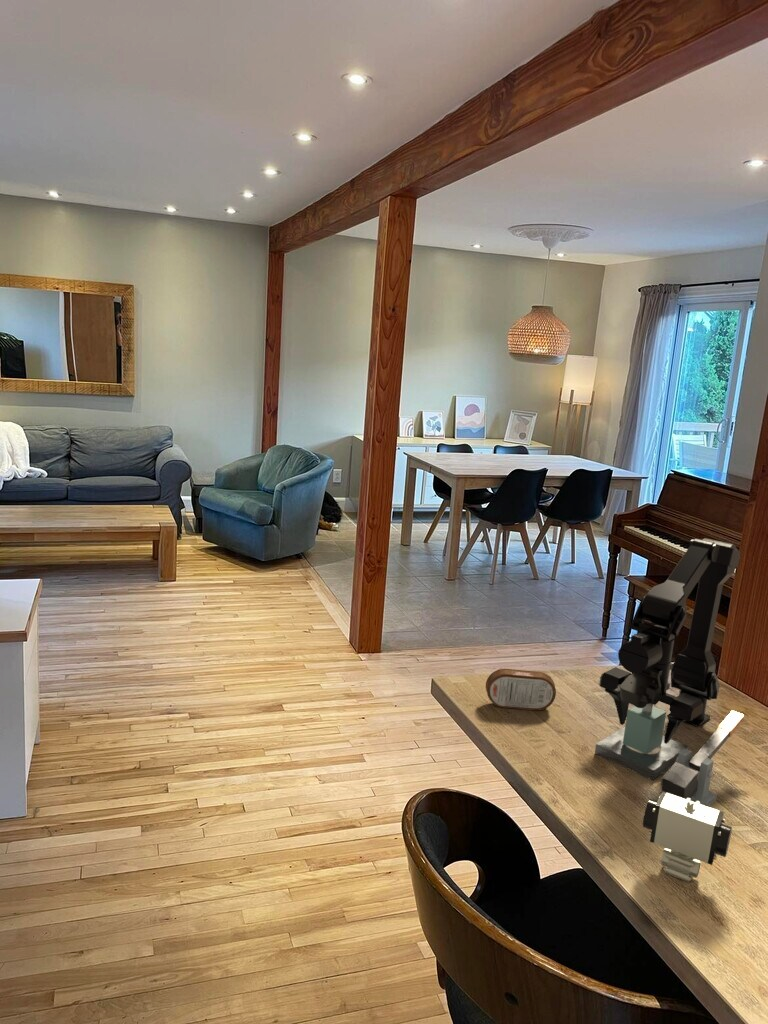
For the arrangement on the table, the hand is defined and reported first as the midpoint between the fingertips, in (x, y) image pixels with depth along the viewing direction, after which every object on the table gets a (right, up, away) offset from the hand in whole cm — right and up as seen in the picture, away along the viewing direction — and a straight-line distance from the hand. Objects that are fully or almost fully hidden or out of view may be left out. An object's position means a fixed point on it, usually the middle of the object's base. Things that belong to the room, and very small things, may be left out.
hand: (643, 733), depth 149 cm
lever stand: (+4, -8, -13) cm, 15 cm away
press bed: (0, -4, +1) cm, 4 cm away
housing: (0, -2, 0) cm, 2 cm away
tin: (-21, 0, +18) cm, 28 cm away
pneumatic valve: (-6, -12, -33) cm, 35 cm away
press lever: (+8, -2, -10) cm, 13 cm away
